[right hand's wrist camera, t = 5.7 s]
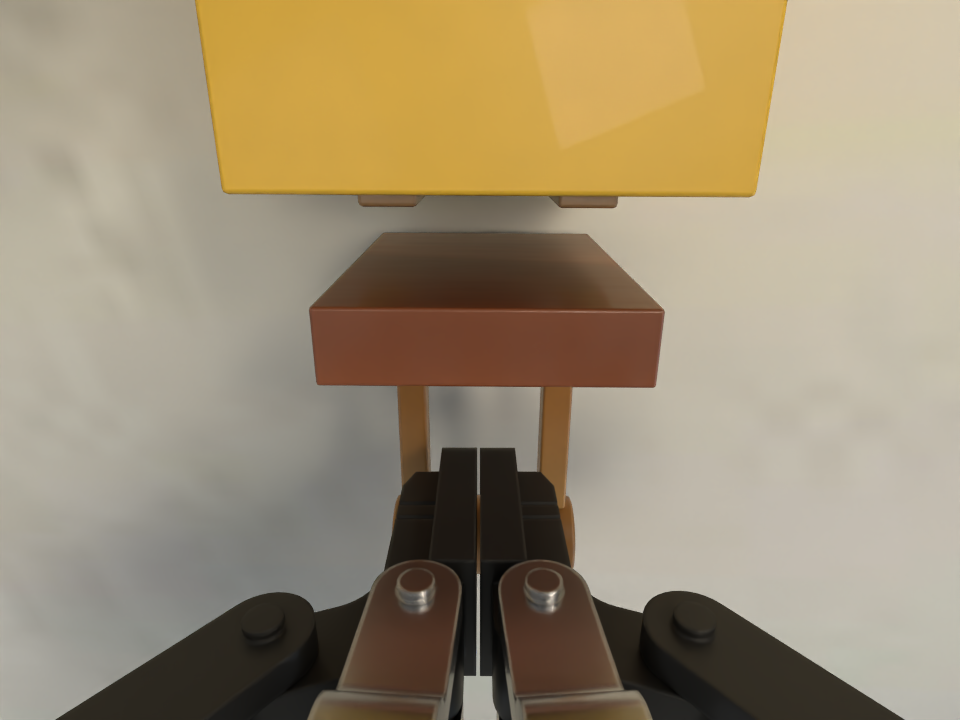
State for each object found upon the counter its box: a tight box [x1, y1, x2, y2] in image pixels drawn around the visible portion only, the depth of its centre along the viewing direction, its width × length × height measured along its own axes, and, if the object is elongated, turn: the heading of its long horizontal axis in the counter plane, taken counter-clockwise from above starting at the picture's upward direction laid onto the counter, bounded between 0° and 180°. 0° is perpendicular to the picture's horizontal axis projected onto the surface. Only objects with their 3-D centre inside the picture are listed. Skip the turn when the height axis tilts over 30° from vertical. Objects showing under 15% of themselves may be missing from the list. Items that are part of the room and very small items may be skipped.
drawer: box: [309, 195, 665, 574], centre depth 10 cm, size 23×5×7 cm, turn 0°
